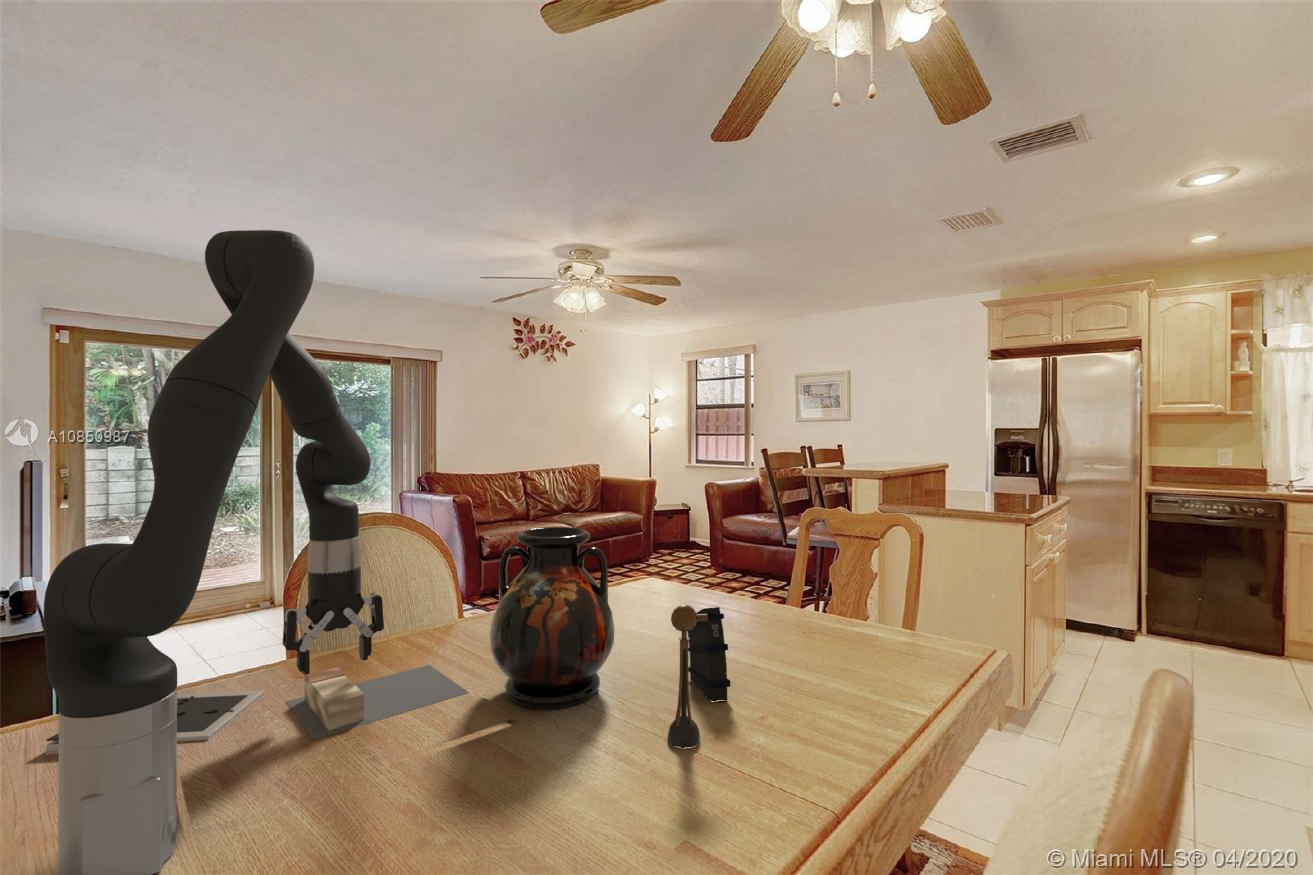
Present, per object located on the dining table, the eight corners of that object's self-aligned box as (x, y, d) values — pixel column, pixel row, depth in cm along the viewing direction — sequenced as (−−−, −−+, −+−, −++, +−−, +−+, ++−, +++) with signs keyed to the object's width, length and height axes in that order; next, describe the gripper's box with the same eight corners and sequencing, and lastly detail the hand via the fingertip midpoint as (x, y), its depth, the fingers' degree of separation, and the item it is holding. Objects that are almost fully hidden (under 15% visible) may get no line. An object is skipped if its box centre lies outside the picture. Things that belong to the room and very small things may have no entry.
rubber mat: (469, 697, 103) (469, 692, 103) (312, 745, 87) (312, 739, 87) (429, 669, 116) (429, 664, 116) (285, 706, 100) (285, 701, 100)
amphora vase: (471, 718, 96) (472, 542, 96) (509, 667, 117) (509, 522, 117) (607, 721, 95) (607, 543, 95) (619, 668, 116) (620, 523, 116)
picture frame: (46, 759, 84) (208, 750, 87) (46, 739, 84) (208, 730, 87) (128, 709, 100) (264, 702, 103) (129, 692, 100) (264, 686, 103)
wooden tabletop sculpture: (702, 731, 92) (703, 599, 92) (710, 746, 87) (711, 608, 87) (664, 734, 91) (665, 601, 91) (670, 750, 86) (671, 610, 86)
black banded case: (716, 702, 98) (702, 608, 104) (691, 706, 109) (680, 621, 116) (737, 699, 99) (722, 606, 105) (710, 703, 110) (698, 619, 117)
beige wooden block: (364, 719, 93) (364, 692, 93) (328, 730, 90) (328, 702, 90) (337, 691, 104) (337, 667, 104) (304, 700, 100) (304, 674, 100)
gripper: (289, 577, 89) (290, 686, 89) (388, 562, 99) (389, 661, 99) (278, 568, 95) (279, 671, 95) (373, 555, 104) (374, 648, 105)
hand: (335, 665), depth 97 cm, fingers open, 8 cm apart
